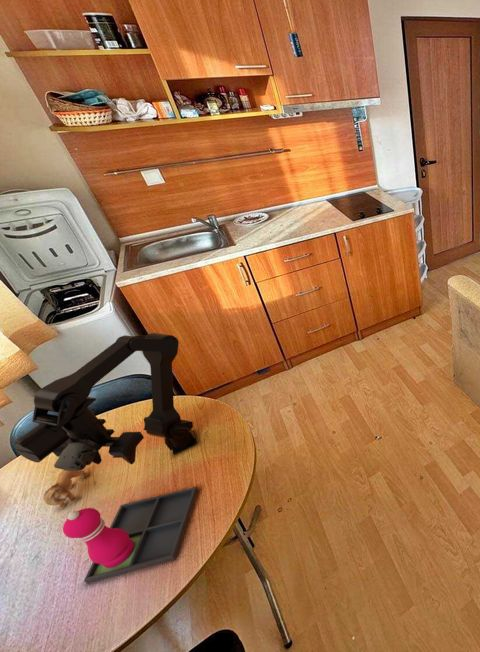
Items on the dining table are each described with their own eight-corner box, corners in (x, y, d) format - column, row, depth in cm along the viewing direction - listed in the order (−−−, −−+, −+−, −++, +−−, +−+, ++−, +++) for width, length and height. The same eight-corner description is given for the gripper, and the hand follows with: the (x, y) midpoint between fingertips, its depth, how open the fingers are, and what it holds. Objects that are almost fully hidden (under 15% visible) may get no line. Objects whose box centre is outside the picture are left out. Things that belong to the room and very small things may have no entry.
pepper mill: (114, 539, 96) (66, 498, 84) (143, 536, 96) (100, 495, 85) (93, 572, 90) (39, 532, 78) (124, 568, 90) (75, 529, 79)
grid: (124, 508, 103) (120, 505, 102) (198, 490, 107) (195, 487, 106) (87, 583, 88) (83, 580, 87) (175, 559, 92) (172, 556, 91)
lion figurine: (81, 509, 103) (61, 492, 98) (55, 520, 100) (33, 503, 95) (89, 468, 113) (71, 451, 108) (66, 478, 110) (47, 460, 105)
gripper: (12, 454, 85) (54, 491, 94) (92, 454, 85) (127, 492, 93) (57, 415, 94) (92, 452, 103) (129, 415, 94) (158, 452, 103)
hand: (116, 462), depth 100 cm, fingers open, 9 cm apart
